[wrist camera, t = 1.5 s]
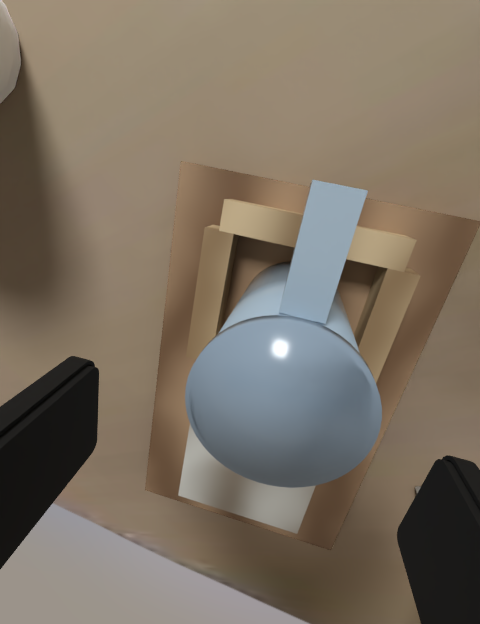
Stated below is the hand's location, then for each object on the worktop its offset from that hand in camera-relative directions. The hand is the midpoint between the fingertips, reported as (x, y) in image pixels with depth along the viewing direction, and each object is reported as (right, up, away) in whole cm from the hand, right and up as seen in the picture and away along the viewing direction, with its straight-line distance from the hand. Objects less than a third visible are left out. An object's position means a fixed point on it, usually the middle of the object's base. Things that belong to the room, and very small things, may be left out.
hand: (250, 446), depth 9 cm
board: (+2, -1, +14) cm, 14 cm away
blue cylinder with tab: (+3, +6, +10) cm, 12 cm away
